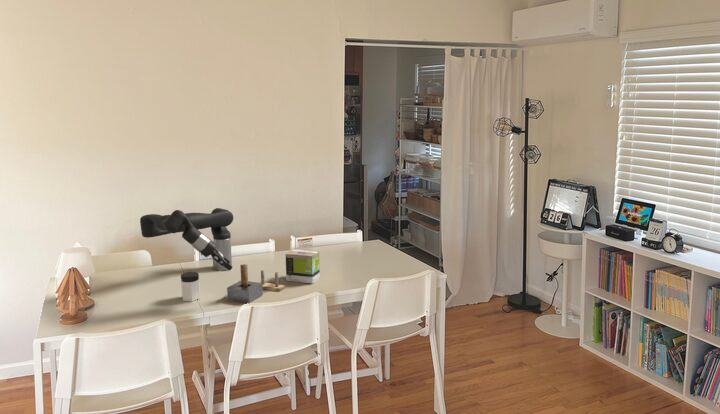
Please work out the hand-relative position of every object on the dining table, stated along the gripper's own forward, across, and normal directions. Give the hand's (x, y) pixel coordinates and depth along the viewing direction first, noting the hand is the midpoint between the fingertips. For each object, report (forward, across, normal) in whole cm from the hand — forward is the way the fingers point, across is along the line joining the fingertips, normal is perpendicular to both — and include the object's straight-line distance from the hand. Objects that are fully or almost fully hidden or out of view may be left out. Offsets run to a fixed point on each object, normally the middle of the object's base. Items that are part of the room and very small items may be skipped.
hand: (229, 266), depth 289 cm
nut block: (+16, -1, -7) cm, 18 cm away
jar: (-1, -8, -24) cm, 26 cm away
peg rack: (+26, -10, +3) cm, 28 cm away
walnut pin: (+15, -1, -5) cm, 16 cm away
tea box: (+39, -17, +16) cm, 46 cm away
